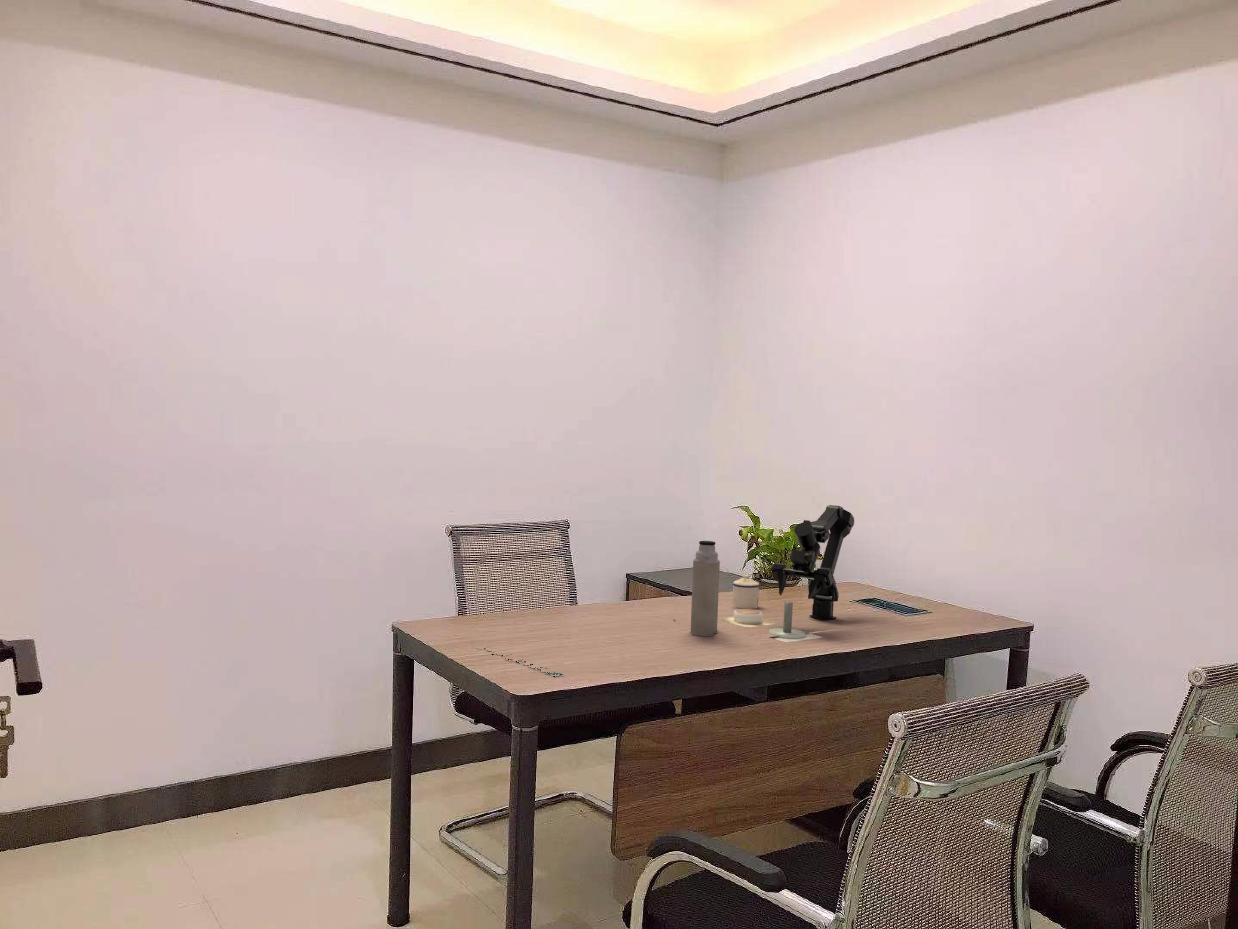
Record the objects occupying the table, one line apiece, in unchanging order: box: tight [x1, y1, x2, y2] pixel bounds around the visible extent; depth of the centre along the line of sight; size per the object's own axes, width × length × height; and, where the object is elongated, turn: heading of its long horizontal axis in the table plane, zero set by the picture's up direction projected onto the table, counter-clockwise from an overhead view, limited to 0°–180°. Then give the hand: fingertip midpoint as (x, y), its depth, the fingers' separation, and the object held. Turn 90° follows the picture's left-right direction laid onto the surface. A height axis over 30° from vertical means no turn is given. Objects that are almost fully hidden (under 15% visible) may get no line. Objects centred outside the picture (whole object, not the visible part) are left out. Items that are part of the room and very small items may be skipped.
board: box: [717, 616, 780, 629], centre depth 325 cm, size 14×14×1 cm
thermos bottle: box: [690, 540, 721, 637], centre depth 309 cm, size 8×8×28 cm
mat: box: [768, 631, 823, 643], centre depth 310 cm, size 15×15×1 cm
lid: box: [768, 601, 807, 639], centre depth 309 cm, size 11×11×10 cm
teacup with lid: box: [732, 574, 760, 610], centre depth 351 cm, size 12×9×12 cm
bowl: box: [733, 608, 763, 624], centre depth 325 cm, size 9×9×3 cm
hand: (794, 596), depth 313 cm, fingers open, 9 cm apart
